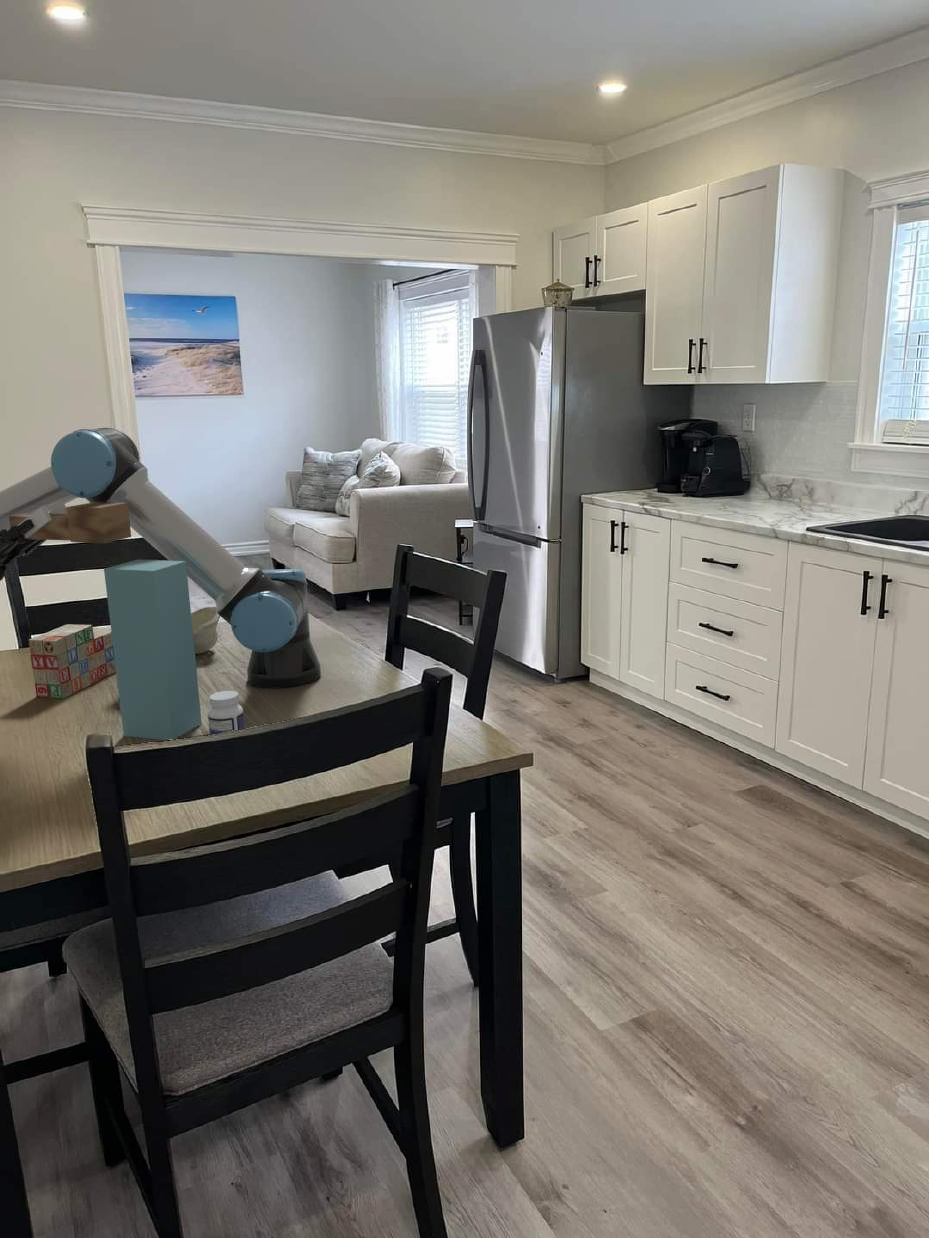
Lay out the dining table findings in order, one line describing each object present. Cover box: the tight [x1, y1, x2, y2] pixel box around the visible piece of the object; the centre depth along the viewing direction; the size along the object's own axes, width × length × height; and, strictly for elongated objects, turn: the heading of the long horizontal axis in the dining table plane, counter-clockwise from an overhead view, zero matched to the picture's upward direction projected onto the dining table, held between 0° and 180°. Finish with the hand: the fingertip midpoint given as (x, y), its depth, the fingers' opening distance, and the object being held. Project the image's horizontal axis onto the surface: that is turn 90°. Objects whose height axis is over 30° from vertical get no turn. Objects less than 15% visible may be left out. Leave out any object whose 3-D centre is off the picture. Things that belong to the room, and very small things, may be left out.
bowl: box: [191, 606, 221, 655], centre depth 215 cm, size 15×14×10 cm
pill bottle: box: [207, 690, 246, 735], centre depth 155 cm, size 6×6×10 cm
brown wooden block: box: [9, 502, 132, 544], centre depth 163 cm, size 21×7×6 cm, turn 72°
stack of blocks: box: [28, 623, 116, 699], centre depth 195 cm, size 21×6×12 cm, turn 167°
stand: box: [103, 559, 203, 741], centre depth 163 cm, size 10×9×30 cm
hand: (56, 511), depth 163 cm, fingers closed on brown wooden block, 4 cm apart
